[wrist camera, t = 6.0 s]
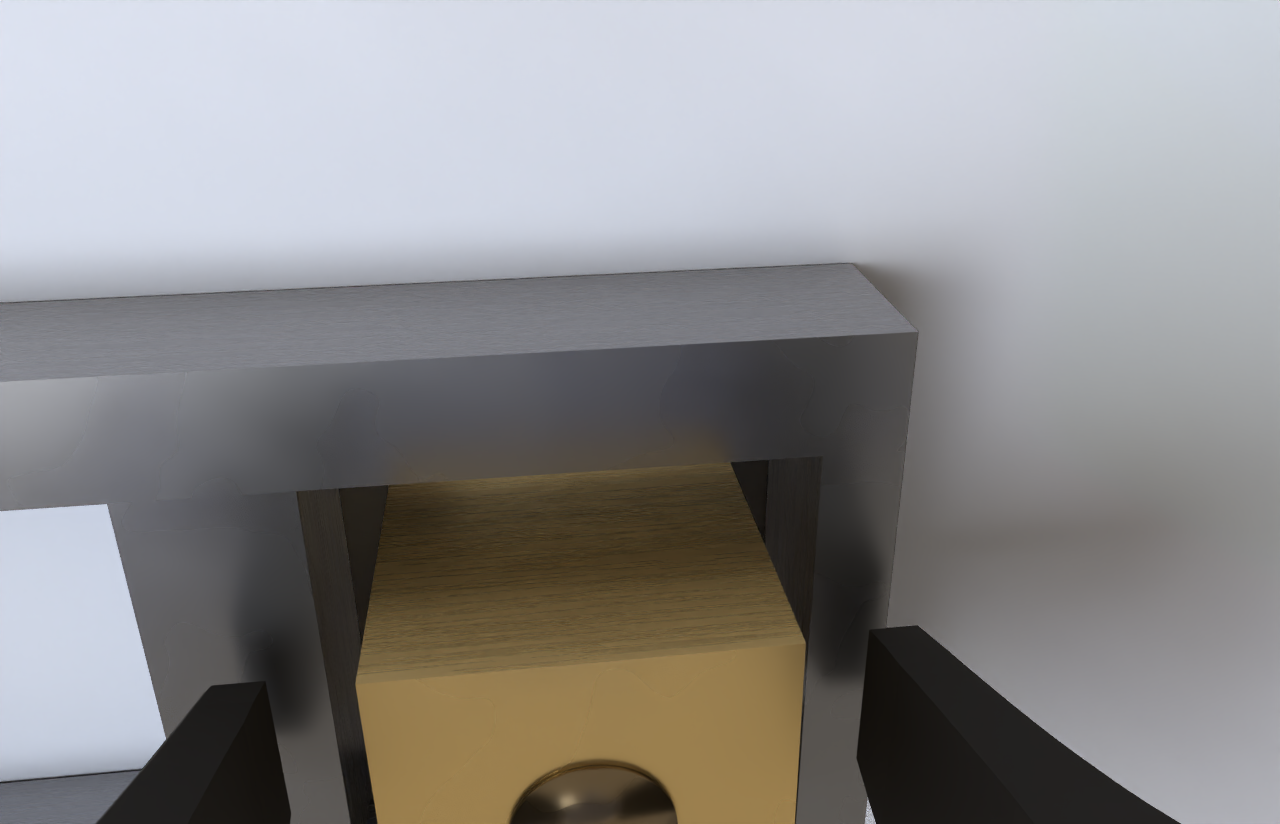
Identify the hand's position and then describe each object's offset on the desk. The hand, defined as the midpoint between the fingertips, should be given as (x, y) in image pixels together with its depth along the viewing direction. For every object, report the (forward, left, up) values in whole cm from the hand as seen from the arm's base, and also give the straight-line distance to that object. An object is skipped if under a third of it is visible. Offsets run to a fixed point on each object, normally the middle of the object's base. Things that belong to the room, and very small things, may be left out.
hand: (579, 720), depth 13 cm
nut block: (0, 0, -3) cm, 3 cm away
